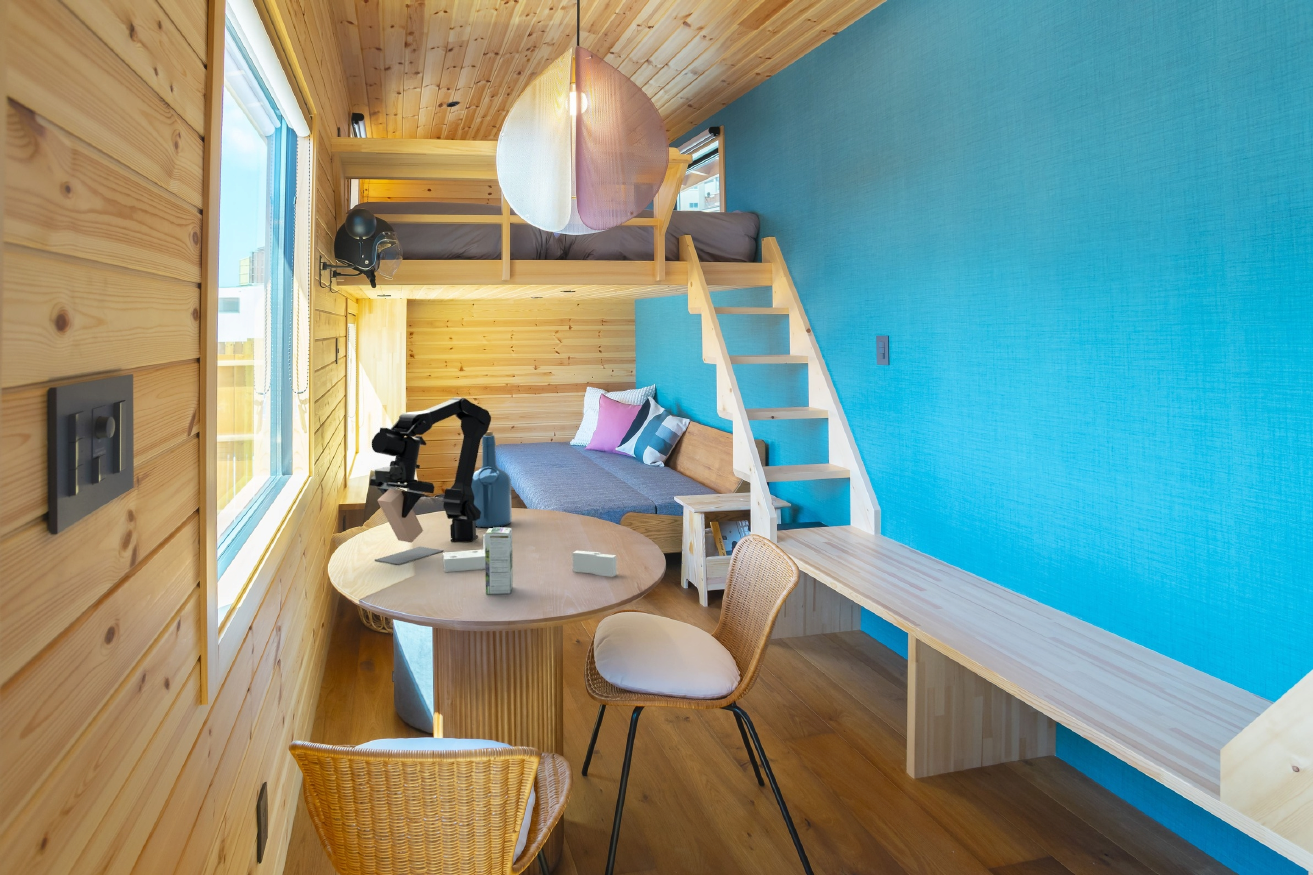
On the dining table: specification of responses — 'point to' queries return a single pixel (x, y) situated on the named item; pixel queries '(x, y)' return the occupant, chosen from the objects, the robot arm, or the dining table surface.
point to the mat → (409, 555)
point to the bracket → (464, 559)
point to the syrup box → (498, 560)
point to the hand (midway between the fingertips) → (396, 516)
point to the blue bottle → (491, 488)
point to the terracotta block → (399, 516)
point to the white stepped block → (594, 563)
